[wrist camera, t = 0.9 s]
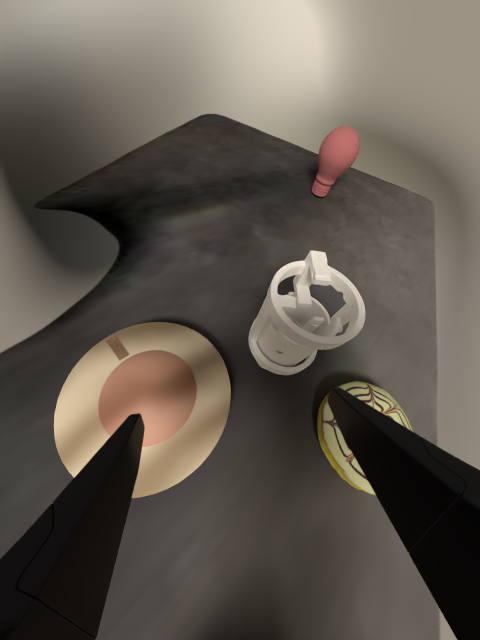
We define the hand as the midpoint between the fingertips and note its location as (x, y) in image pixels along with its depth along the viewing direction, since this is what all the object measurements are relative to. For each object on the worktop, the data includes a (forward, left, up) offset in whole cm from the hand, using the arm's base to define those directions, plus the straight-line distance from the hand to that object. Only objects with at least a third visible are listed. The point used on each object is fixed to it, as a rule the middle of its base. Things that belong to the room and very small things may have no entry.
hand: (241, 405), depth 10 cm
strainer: (+2, -9, -15) cm, 18 cm away
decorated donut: (-11, -11, -15) cm, 22 cm away
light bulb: (+21, -46, -15) cm, 53 cm away
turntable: (+7, +4, -13) cm, 15 cm away
